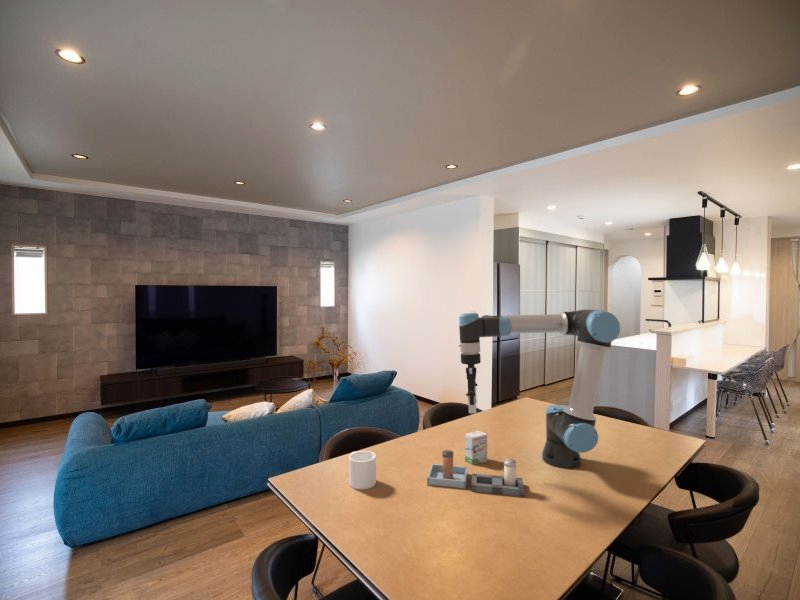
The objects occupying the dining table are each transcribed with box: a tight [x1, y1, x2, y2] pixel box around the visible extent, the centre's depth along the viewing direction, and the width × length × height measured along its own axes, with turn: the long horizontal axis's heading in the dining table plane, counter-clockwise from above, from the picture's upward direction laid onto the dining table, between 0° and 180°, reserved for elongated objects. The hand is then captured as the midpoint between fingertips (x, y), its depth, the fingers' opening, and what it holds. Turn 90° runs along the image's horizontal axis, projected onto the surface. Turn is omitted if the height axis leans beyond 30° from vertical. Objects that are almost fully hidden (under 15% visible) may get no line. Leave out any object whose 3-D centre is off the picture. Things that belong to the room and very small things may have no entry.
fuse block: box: [470, 473, 525, 498], centre depth 138 cm, size 18×9×3 cm, turn 77°
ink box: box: [464, 430, 488, 466], centre depth 161 cm, size 8×5×12 cm, turn 120°
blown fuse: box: [441, 449, 454, 480], centre depth 145 cm, size 4×4×10 cm
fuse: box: [503, 458, 517, 487], centre depth 137 cm, size 4×4×10 cm
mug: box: [348, 450, 377, 491], centre depth 144 cm, size 13×10×10 cm
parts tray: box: [426, 463, 469, 490], centre depth 145 cm, size 14×12×3 cm
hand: (472, 407), depth 148 cm, fingers open, 13 cm apart
